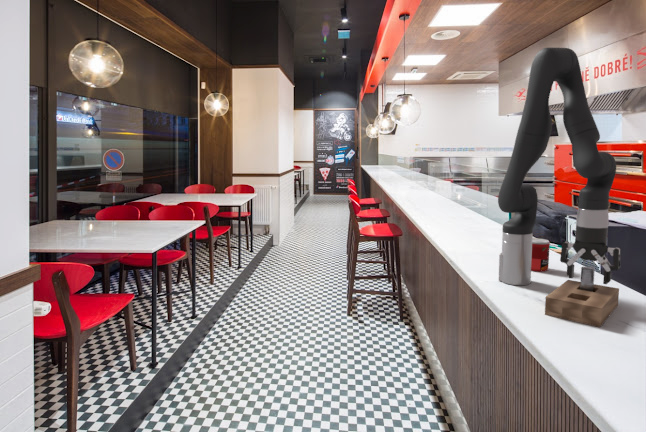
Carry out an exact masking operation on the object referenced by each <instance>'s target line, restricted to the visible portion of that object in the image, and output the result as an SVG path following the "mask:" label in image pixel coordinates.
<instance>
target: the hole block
mask: <svg viewBox="0 0 646 432" xmlns="http://www.w3.org/2000/svg"><path fill="white" fill-rule="evenodd" d="M580 282H581V281H579V280H573V279H572V280H571V279H567V280H566V281H565V282H563V283H562V284H561V285H559V286H558V287H557V288H555V289H554V290H553V291H551V292H550V293H548V295H546V296H545V306H544V315H546V316H550V317H556V318H558V319H564V320H568V321H572V322H577V323H579V324H580V323H581V324H586V325H589V326H593V327H598V328H601V327H602V326H601V325H604V323H605V322H606V321H607V320H608V319H609V317H610V316H611V314H613V312H614V311H615V310H616V309H617V308H618V305H619V293H620V288H619V287H612V286H607V285H600V284H597V283H596V284H594V286H593V292H590V291H585V290H580ZM614 309H615V310H614ZM613 310H614V311H613ZM609 315H610V316H609ZM605 320H606V321H605Z"/></svg>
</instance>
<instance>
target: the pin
mask: <svg viewBox="0 0 646 432" xmlns="http://www.w3.org/2000/svg"><path fill="white" fill-rule="evenodd" d="M580 268H581V269H580V281H579V282H580V290H585V291H590V292H593V286H594V282H595V273H596V271H595V270H596V269H595V267H593V266H581V267H580Z"/></svg>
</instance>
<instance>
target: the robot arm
mask: <svg viewBox="0 0 646 432" xmlns="http://www.w3.org/2000/svg"><path fill="white" fill-rule="evenodd" d="M583 81H584V80H583V77H582V70H581V66H580V61H579V58H578V55H577V54H576V51H575V50H573V49H571V48H569V47H550V46H549V47H544V48H542V49H540V50H539V51H538V52H537V53H536V55H535V56H534V58H533V60H532V63H531V66H530V72H529V78H528V85H527V90H526V98H525V102H524V106H523V109H522V115H521V119H520V122H519V126H518V129H517V133H516V138H515V141H514V145H513V149H512V153H511V157H510V159H509V163H508V166H507V170H506V173H505V176H504V178H503V181H502V183H501V186H500V189H499V192H498V196H497V203H498V208H499V209H500V210H501V212H503V213H505V214H507V213H508V214H512V213H513V214H514V215H513V216H512V217H511V218H510V219H508V220H507V221H505V222H504V223H503V224H502V236H501V239H502V241H501V242H502V243H501V253H499V259H498V281H499V282H502V283H504V284H507V285H513V286H527V285H530V284H531V278H532V271H531V260H532V238H534V237H533V236H534V235H533V233H534V227H535V225H536V221H537V214H538V213H537V210H538V204H539V203H538V202H539V201H538V193H537V190H536V188H535V187H534V186H533V185H531V184H527V183H524V180H525V178H526V176H527V173H529V171H530V170H531V169H532V167H534V165H535V164H536V163H537V162H538V161H539V159H540V158H541V157H542V155H543V154H544V153H545V151H546V149H547V147H548V145H549V141H550V138H551V135H552V134H551V133H552V131H553V122H552V116H551V115H552V114H551V111H550V105H549V101H550V95H551V91H552V88H553V84H554V82H556V83H557V85H558V86H559V88H560V90H561V93H562V97H563V110H562V111H563V112H562V121H563V125H564V129H565V131H566V134H567V137H568V139H569V142H570V143H571V152H572V154H571V155H572V160H573V165H574V168H575V170H576V172H577V173H578V175H579V176H580V177H582V178H583V179H587V180H586V184H585V186H584V187H582V188H581V189H580V190H579V194H578V208H577V213H576V222H575V236H574V237H575V238H574V240H575V241H574V243H573V242H569V241H567V240H565V242H562V244H561V251H560V259H559V261H560V262H561V263H564V264H565V265H566V276H568V278H569V279H573V278H574V277H575V276H574V275H575V264H574V263H576V262H577V260H579V259H581V260H583V261H591V262H596V261H597V262H598V263H599V264H600V265H601V266H602V267H603V269H604V272H603V281H602V282H603V285H607V284H609V283H610V282H611V280H612V272H614V271H618V270H619V269H621V248H620V247H618V246H616V247H609V246H608V245H607V244H608V232H609V225H610V223H609V222H610V221H609V217H610V216H609V206H610V205H609V203H610V202H609V201H610V193H611V189H612V186H613V183H614V181H615V177H616V174H617V161H616V159H615V157H614V156H613V154H611V153H610V152H605V151H599V149H598V144H597V143H598V142H599V140H600V139H601V133H600V131H599V129H598V126H597V124H596V122H595V119H594V117H593V114H592V112H591V109H590V105H589V102H588V98H587V94H586V90H585V86H584V82H583ZM572 248H573V250H574V251H575V254H574V255H573V256H572V257H571V258H570V259H569V258H568V256H569V251H570V250H571V249H572ZM607 253H609V254H610V256H611V257H612V258H613V259H612V264H611V263H610V261H609V260H608V258H607V257H606V254H607Z"/></svg>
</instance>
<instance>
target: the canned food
mask: <svg viewBox="0 0 646 432" xmlns="http://www.w3.org/2000/svg"><path fill="white" fill-rule="evenodd" d="M550 243H551V242H550V241H549V240H548V239H545V238H534V237H532V260H531V272H537V273H542V272H547V271H548V270H549V264H550V262H549V261H550Z"/></svg>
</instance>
